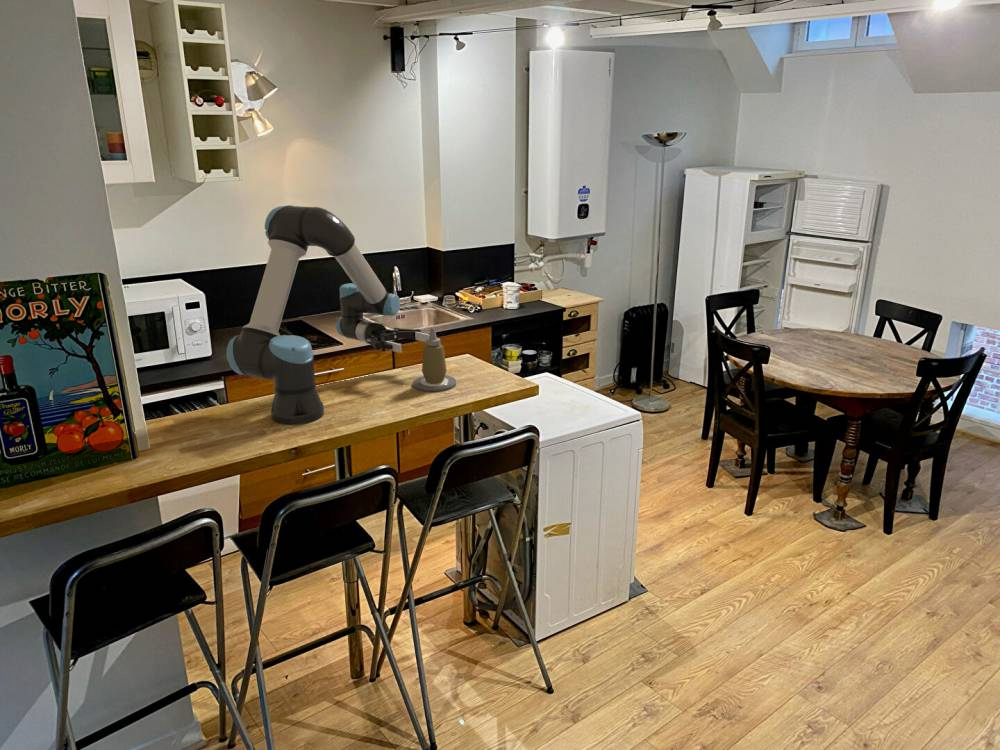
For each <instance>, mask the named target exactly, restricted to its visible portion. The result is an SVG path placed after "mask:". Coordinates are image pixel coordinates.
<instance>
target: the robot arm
mask: <svg viewBox="0 0 1000 750" xmlns="http://www.w3.org/2000/svg"><path fill="white" fill-rule="evenodd" d="M264 230H265V237H266V238H267V239H268V241H267V245H268V246H269V248H270V253H269V257H268V260H267V263H266V266H265V270H264V274H263V277H262V280H261V283H260V286H259V289H258V292H257V293H258V294H257V297H256V299H255V300H256V301H255V304H254V306H253V310H252V313H251V316H250V321H249V323H247V324H245V325H244V326H242V328H241V331H240V334H238V335H235V336H233V338H231V339H230V340H229V342H228V343H227V348H226V359H227V363H229V367H230V369H232V371H233V372H235V373H236V374H238V375H243V376H246V377H248V378H249V377H250V378H251V377H254V378H259V379H263V380H264V379H265V380H270V381H273V386H274V396H273V400H272V404H271V410H270V416H271V421H273V422H274V423H276V424H279V425H285V426H286V425H290V426H291V425H293V426H294V425H303V424H304V425H305V424H308V423H311V422H313V421H314V422H315V421H317V420H319V419H320V418H322V417H323V416H324V414H325V406H324V404H323V402H322V400H321V397H320V395H319V393H318V390H317V388H316V376H315V365H314V352H313V347H312V345H311V342H310V341H309V340H308V339H306V338H305V337H303V336H299V335H293V334H290V335H287V334H283V335H281V334H280V332H279V330H280V327H281V323H282V320H283V316H284V314H285V313H284V312H285V309H286V305H287V302H288V300H289V295H290V292H291V289H292V285H293V282H294V279H295V275H296V273H297V272H296V271H297V267H298V264H299V261H300V259H301V258H302V257H305V256H306V254H307V252H308V248H309V247H317V248H318V247H319V248H321V249H323V250H325V251H326V253H327V254H328V255H329V256H330V257H333V258H334V259H335V260H336V261H337V262H338V263H339V264H338V265H340V267H342V269H343V270H344V272H345V274H346V276H348V277H349V279H350V280H351V282H352V283H349V282H348V283H344V284H341V285H340V287H339V304H340V312H341V316H340V317H339V318H338V320H337V322H336V324H335V329H336V332H337V334H338V335H340V336H342V337H344V338H347V339H352V340H356V341H360V342H364V343H365V344H368V345H370V346H372V347H373V348H374V349H375V350H376V351H380V350H381V352H382V353H383V352H386V350H388V351H392V352H394V353H395V352H396V353H403V351H402V343H397V342H394V341H399V340H406V339H407V340H410V339H411V340H412V339H413V340H414V339H415V341H419V342H424V343H426V339H427V338H429V336H430V333H429V334H428V333H423V332H422V330H421V329H420V328H415V329H414V328H400V327H394V328H393V329H390V328H389V329H388V328H387V327H386V326H385V325H384V324H382V323H378V322H375V321H371V320H367V319H364V314H370V315H371V314H372V315H380V316H383V317H387V316H390V317H391V316H392V317H394V316H396V315H397V314H398V313H399V310H400V308H401V299H400V298H399V296H398V295H397V294H394V293H388V291H387V290H386V288H385V287H384V285H383V283H382V282H381V281H380V279H379V278H378V276H377V274H376V273H375V272H374V271H373V268H372V267H371V266H370V264H369V263H368V261H367V260H366V259H365V256H364V255H363V254H362V253H361V251H360V250H359V248H358V246H357V245H356V244H355V243H356V238H355V236H354V234H353V233H352V231H351V230H350V229H349V227H348V226H347V225H346V224H345V223H344V222H343V221H342V220H341V219H340V218H339V217H338V216H336V215H335V214H334V213H333V212H331V211H329V210H327V209H326V208H323V207H318V206H297V205H295V206H294V205H289V204H288V205H281V206H276V207H274V208H272V210H270V211H269V213H268V214H267V216H266V218H265V222H264Z"/></svg>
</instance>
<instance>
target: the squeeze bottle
mask: <svg viewBox="0 0 1000 750" xmlns="http://www.w3.org/2000/svg"><path fill="white" fill-rule="evenodd" d="M429 335H430V336H429V338H427V339H426V342H425V345H424V346H423V349H422V351H423V352H422V362H421V363H422V364H421V365H422V367H421V373H422V376H424V378H425V380H426V382H427V383H430V384H437V383H441V382H443V381H444V378H445V375H446V374H447V371H448V370H447V364H446V357H445V348H444V346H443V345H442V344H441V338H439V337H437V333H436V328H434V327H430V331H429Z"/></svg>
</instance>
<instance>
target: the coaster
mask: <svg viewBox="0 0 1000 750" xmlns="http://www.w3.org/2000/svg"><path fill="white" fill-rule="evenodd" d="M412 383H413V388H414V389H416V390H418V391H422V392H428V393H430V392H431V393H436V392H437V393H438V392H444V391H449V390H451V389H453V388H455V387H456V386H457V380H456V378H455V377H454V376H451V375H445V378H444V381H443V382H441V383H437V384H430V383H427V382H426V380H425V378H424V375H422V376H419V377H417V378H415V379H414V380H413V382H412Z"/></svg>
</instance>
